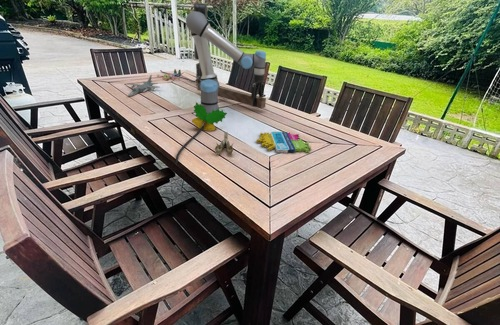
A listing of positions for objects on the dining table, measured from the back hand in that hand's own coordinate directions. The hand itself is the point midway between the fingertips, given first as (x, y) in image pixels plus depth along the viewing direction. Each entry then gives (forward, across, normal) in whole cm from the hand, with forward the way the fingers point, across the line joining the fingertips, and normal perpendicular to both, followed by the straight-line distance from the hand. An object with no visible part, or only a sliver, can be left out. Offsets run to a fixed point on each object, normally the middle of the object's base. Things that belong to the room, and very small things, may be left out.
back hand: (203, 87), depth 229 cm
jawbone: (+6, +68, +89) cm, 112 cm away
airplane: (+6, +33, -42) cm, 54 cm away
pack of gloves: (+6, +36, +105) cm, 111 cm away
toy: (+6, -19, -72) cm, 74 cm away
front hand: (+2, 0, +59) cm, 59 cm away
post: (+2, 0, +29) cm, 30 cm away
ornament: (+6, +51, +60) cm, 80 cm away
